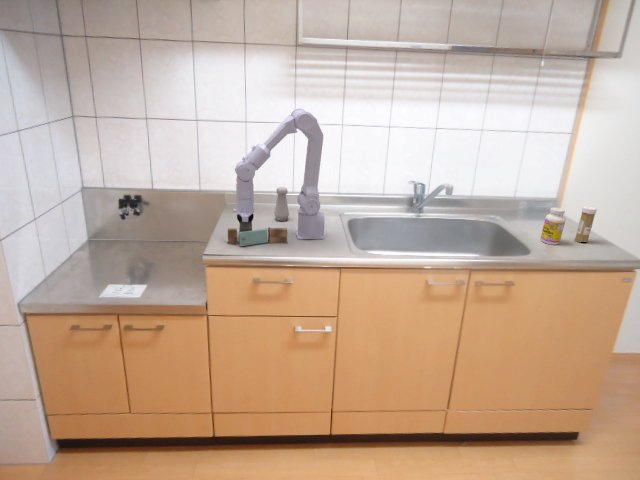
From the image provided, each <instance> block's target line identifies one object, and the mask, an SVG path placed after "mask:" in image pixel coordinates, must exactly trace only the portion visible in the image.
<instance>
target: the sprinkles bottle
mask: <svg viewBox="0 0 640 480" xmlns="http://www.w3.org/2000/svg"><path fill="white" fill-rule="evenodd" d="M597 210H598V209H597V207H594V206H590V205H585V206H582V208H581V215H580V218H579V222H578V226H577V229H576V233H575V238H574V241H575V240H576V241H578V242H577V243H579V242H587V243H589V237H590V235H591V231H592V228H593V224H594V219H595V215H596V214H597ZM576 241H575V242H576Z"/></svg>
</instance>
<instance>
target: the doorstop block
mask: <svg viewBox="0 0 640 480" xmlns="http://www.w3.org/2000/svg"><path fill="white" fill-rule="evenodd" d="M252 222H253V221H252ZM252 222H242V221H240V223H239V228H238V230H239V231H238V233H239V232H244V231H252V230H253V223H252ZM238 243H239V244H240V239H239V238H238Z"/></svg>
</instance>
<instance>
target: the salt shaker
mask: <svg viewBox="0 0 640 480" xmlns="http://www.w3.org/2000/svg"><path fill="white" fill-rule="evenodd" d="M275 190H276V191H275V192H276V194H277V197H276V202H275V209H274V214H273V215H274V217H275V219H276V221H278V222H286V221H287V219H288V218H289V216H290V212H289V211H290V210H289V206H288V199H287V195H288V188H287V187H283V186H279V187H277V188H276V189H275Z"/></svg>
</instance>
